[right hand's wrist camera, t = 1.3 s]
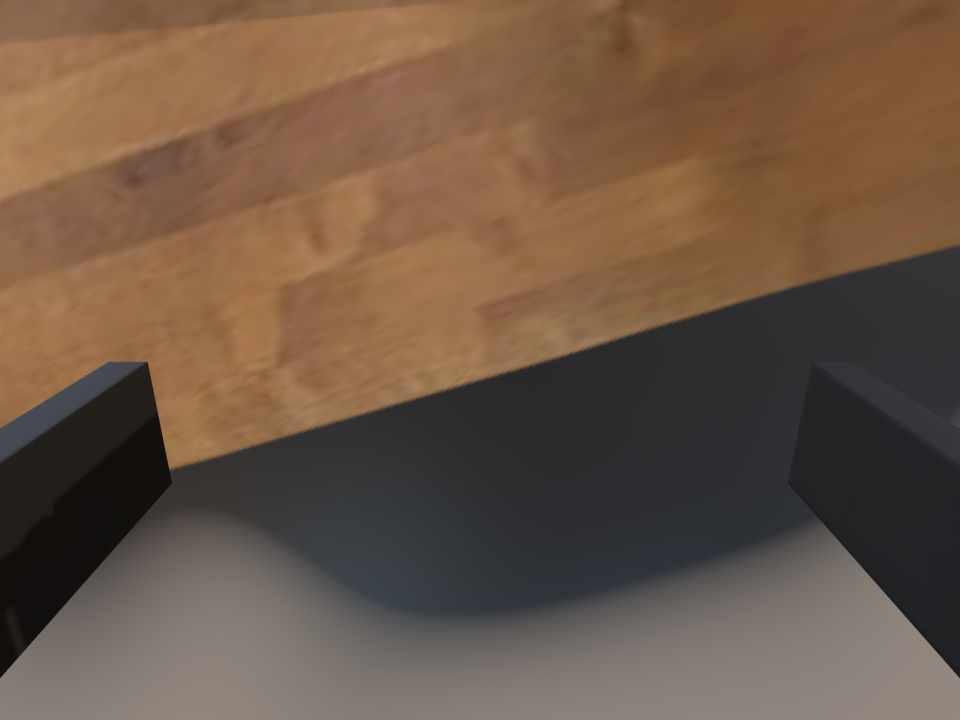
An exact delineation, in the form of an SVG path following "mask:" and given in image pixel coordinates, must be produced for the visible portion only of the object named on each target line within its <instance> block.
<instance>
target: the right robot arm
mask: <svg viewBox="0 0 960 720" xmlns="http://www.w3.org/2000/svg"><path fill="white" fill-rule="evenodd" d="M171 484H172V481H171V476H170V471H169V466H168V461H167V456H166V451H165V446H164V441H163V436H162V431H161V426H160V421H159V416H158V411H157V406H156V401H155V396H154V391H153V387H152V382H151V377H150V372H149V367H148V362H108V363H106V364H105V365H103V366H101V367H100V368H98V369H97V370H95V371H93V372H92V373H90V374H88V375H87V376H85V377H84V378H82V379H80V380H79V381H77V382H75V383H74V384H72V385H71V386H69V387H67V388H66V389H64V390H62V391H61V392H59V393H58V394H56V395H54V396H53V397H51V398H49V399H48V400H46V401H44V402H43V403H41V404H40V405H38V406H36V407H35V408H33V409H31V410H30V411H28V412H27V413H25V414H23V415H22V416H20V417H18V418H17V419H15V420H14V421H12V422H10V423H9V424H7V425H5V426H4V427H2V428H1V429H0V678H1V677H2V675H3V674H4V673H5V672H6V671H7V670H8V669H9V667H10V666H11V665H12V664H13V663H14V662H15V661H16V660H17V658H18V657H19V656H20V655H21V654H22V653H23V652H24V650H25V649H26V648H27V647H28V646H29V645H30V644H31V643H32V641H33V640H34V639H35V638H36V637H37V636H38V635H39V633H40V632H41V631H42V630H43V629H44V628H45V627H46V625H47V624H48V623H49V622H50V621H51V620H52V619H53V618H54V616H55V615H56V614H57V613H58V612H59V611H60V610H61V609H62V607H63V606H64V605H65V604H66V603H67V602H68V601H69V599H70V598H71V597H72V596H73V595H74V594H75V593H76V591H77V590H78V589H79V588H80V587H81V586H82V585H83V584H84V582H85V581H86V580H87V579H88V578H89V577H90V576H91V574H92V573H93V572H94V571H95V570H96V569H97V568H98V567H99V565H100V564H101V563H102V562H103V561H104V560H105V559H106V557H107V556H108V555H109V554H110V553H111V552H112V551H113V549H114V548H115V547H116V546H117V545H118V544H119V543H120V542H121V540H122V539H123V538H124V537H125V536H126V535H127V534H128V532H129V531H130V530H131V529H132V528H133V527H134V526H135V525H136V523H137V522H138V521H139V520H140V519H141V518H142V517H143V515H144V514H145V513H146V512H147V511H148V510H149V509H150V508H151V506H152V505H153V504H154V503H155V502H156V501H157V500H158V498H159V497H160V496H161V495H162V494H163V493H164V492H165V491H166V489H167V488H168V487H169V486H170V485H171ZM788 484H789V485H790V486H791V487H792V488H793V489H794V491H795V492H796V493H797V494H798V495H799V496H800V497H801V498H802V500H803V501H804V502H805V503H806V504H807V505H808V506H809V508H810V509H811V510H812V511H813V512H814V513H815V514H816V515H817V517H818V518H819V519H820V520H821V521H822V522H823V523H824V525H825V526H826V527H827V528H828V529H829V530H830V531H831V532H832V534H833V535H834V536H835V537H836V538H837V539H838V540H839V542H840V543H841V544H842V545H843V546H844V547H845V548H846V550H847V551H848V552H849V553H850V554H851V555H852V556H853V557H854V559H855V560H856V561H857V562H858V563H859V564H860V565H861V567H862V568H863V569H864V570H865V571H866V572H867V573H868V574H869V576H870V577H871V578H872V579H873V580H874V581H875V582H876V584H877V585H878V586H879V587H880V588H881V589H882V590H883V591H884V593H885V594H886V595H887V596H888V597H889V598H890V599H891V601H892V602H893V603H894V604H895V605H896V606H897V607H898V609H899V610H900V611H901V612H902V613H903V614H904V615H905V616H906V617H907V619H908V620H909V621H910V622H911V623H912V624H913V625H914V627H915V628H916V629H917V630H918V631H919V632H920V633H921V635H922V636H923V637H924V638H925V639H926V640H927V641H928V643H929V644H930V645H931V646H932V647H933V648H934V649H935V650H936V652H937V653H938V654H939V655H940V656H941V657H942V658H943V659H944V661H945V662H946V663H947V664H948V665H949V666H950V668H951V669H952V670H953V671H954V672H955V673H956V674H957V675H958V677H959V678H960V429H959V428H958V427H956V426H954V425H953V424H951V423H950V422H948V421H946V420H945V419H943V418H942V417H940V416H938V415H937V414H935V413H933V412H932V411H930V410H928V409H927V408H925V407H924V406H922V405H920V404H919V403H917V402H915V401H914V400H912V399H911V398H909V397H907V396H906V395H904V394H902V393H901V392H899V391H898V390H896V389H894V388H893V387H891V386H889V385H888V384H886V383H885V382H883V381H881V380H880V379H878V378H876V377H875V376H873V375H872V374H870V373H868V372H867V371H865V370H863V369H862V368H860V367H859V366H857V365H855V364H854V363H852V362H812V367H811V372H810V377H809V382H808V387H807V392H806V397H805V401H804V407H803V411H802V417H801V422H800V426H799V431H798V436H797V441H796V446H795V451H794V456H793V461H792V466H791V471H790V476H789V481H788Z"/></svg>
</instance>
